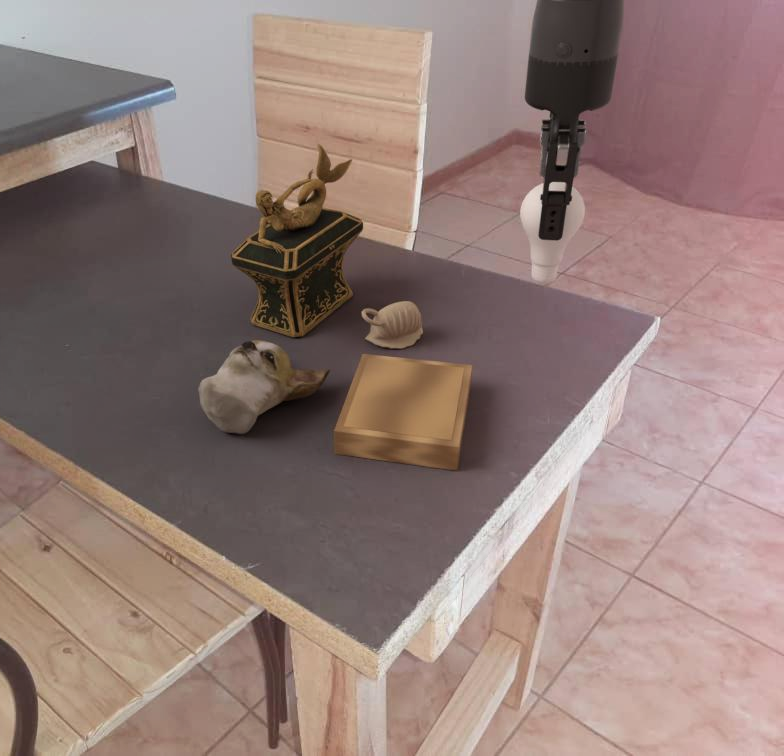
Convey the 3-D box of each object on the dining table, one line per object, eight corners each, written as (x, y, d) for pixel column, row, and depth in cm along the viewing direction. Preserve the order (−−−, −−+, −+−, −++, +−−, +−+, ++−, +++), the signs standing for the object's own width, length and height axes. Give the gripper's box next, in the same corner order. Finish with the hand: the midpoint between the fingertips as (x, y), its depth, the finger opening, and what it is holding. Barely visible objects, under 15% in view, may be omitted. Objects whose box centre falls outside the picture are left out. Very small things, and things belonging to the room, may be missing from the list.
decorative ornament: (430, 342, 93) (433, 302, 90) (366, 357, 91) (366, 318, 88) (415, 326, 96) (417, 287, 93) (353, 340, 94) (352, 302, 91)
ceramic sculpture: (164, 355, 78) (256, 300, 88) (172, 426, 82) (259, 365, 92) (247, 389, 72) (335, 325, 82) (251, 462, 77) (334, 393, 87)
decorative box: (297, 349, 94) (287, 192, 82) (235, 328, 98) (217, 178, 87) (380, 280, 106) (381, 137, 95) (321, 265, 111) (316, 127, 100)
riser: (470, 387, 85) (472, 364, 83) (457, 471, 74) (459, 446, 72) (362, 375, 88) (362, 353, 86) (334, 454, 77) (333, 430, 75)
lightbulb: (502, 287, 82) (512, 187, 76) (529, 265, 86) (540, 168, 79) (557, 302, 78) (572, 199, 72) (583, 279, 82) (599, 178, 76)
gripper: (623, 68, 62) (591, 258, 72) (615, 30, 73) (588, 199, 83) (526, 68, 64) (507, 253, 74) (532, 32, 75) (515, 196, 85)
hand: (550, 224), depth 78 cm, fingers closed on lightbulb, 6 cm apart
